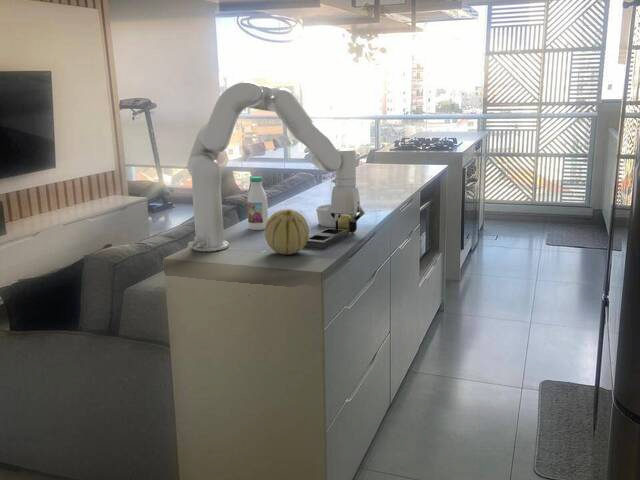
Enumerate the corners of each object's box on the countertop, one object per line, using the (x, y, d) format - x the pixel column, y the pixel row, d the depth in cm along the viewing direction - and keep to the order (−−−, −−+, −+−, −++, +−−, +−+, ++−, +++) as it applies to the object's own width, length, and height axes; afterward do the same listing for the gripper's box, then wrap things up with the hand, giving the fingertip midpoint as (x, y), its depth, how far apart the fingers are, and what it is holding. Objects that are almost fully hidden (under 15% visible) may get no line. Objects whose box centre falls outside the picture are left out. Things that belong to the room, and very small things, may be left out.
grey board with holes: (323, 249, 206) (323, 242, 206) (302, 247, 210) (302, 240, 209) (347, 236, 223) (347, 229, 223) (328, 234, 227) (327, 227, 226)
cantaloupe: (290, 245, 212) (288, 202, 209) (319, 253, 202) (318, 208, 198) (255, 254, 203) (253, 209, 199) (284, 262, 192) (282, 215, 189)
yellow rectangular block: (349, 235, 225) (349, 217, 223) (338, 234, 227) (337, 216, 225) (354, 232, 229) (354, 214, 227) (343, 231, 231) (342, 213, 229)
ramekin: (311, 222, 247) (310, 205, 245) (341, 219, 252) (341, 202, 250) (324, 229, 235) (324, 211, 233) (355, 225, 240) (355, 208, 238)
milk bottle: (258, 225, 244) (256, 174, 239) (272, 227, 240) (270, 176, 235) (244, 228, 239) (241, 177, 234) (258, 231, 234) (256, 179, 229)
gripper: (319, 183, 224) (320, 231, 228) (363, 185, 216) (363, 235, 221) (328, 180, 230) (329, 227, 235) (371, 182, 223) (371, 231, 227)
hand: (346, 230), depth 228 cm, fingers open, 5 cm apart
